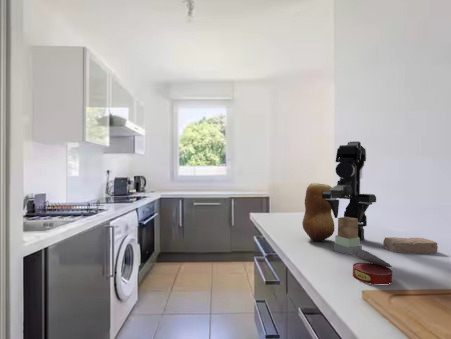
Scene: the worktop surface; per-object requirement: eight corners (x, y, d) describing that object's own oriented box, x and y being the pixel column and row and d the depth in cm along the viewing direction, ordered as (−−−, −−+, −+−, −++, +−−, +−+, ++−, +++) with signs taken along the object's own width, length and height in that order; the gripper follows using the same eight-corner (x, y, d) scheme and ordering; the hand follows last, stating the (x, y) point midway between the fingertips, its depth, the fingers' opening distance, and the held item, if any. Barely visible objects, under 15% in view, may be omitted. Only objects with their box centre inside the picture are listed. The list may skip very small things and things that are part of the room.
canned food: (351, 290, 82) (343, 255, 86) (388, 288, 81) (378, 253, 85) (363, 285, 72) (353, 246, 77) (405, 283, 71) (392, 243, 76)
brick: (393, 253, 106) (393, 240, 106) (382, 247, 115) (382, 235, 115) (438, 255, 106) (439, 242, 106) (424, 249, 114) (424, 237, 114)
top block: (335, 243, 108) (335, 235, 108) (346, 242, 110) (346, 234, 110) (348, 247, 102) (348, 238, 102) (359, 245, 105) (359, 237, 105)
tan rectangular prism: (337, 236, 107) (338, 217, 107) (346, 234, 109) (346, 216, 110) (349, 238, 103) (349, 219, 103) (357, 237, 105) (358, 218, 105)
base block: (334, 251, 107) (334, 243, 107) (344, 249, 111) (344, 241, 111) (351, 256, 101) (351, 248, 101) (361, 253, 105) (361, 245, 105)
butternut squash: (338, 244, 116) (340, 184, 116) (306, 243, 116) (307, 183, 117) (327, 237, 130) (328, 183, 130) (298, 236, 130) (299, 182, 130)
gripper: (313, 177, 109) (313, 217, 109) (361, 178, 94) (360, 225, 94) (330, 177, 115) (329, 215, 115) (377, 179, 101) (376, 222, 100)
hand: (347, 219), depth 106 cm, fingers open, 9 cm apart
